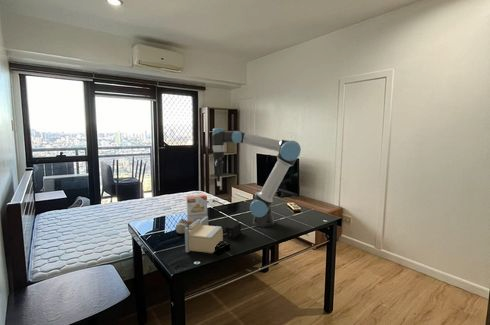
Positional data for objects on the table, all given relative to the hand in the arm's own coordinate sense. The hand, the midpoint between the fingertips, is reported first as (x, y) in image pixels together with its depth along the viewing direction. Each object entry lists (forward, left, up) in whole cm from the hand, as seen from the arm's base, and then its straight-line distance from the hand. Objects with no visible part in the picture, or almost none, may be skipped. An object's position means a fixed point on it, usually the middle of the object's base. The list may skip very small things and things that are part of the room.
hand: (219, 185), depth 175 cm
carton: (-2, +26, -29) cm, 39 cm away
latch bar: (+4, +29, -18) cm, 35 cm away
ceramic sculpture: (+22, +12, -30) cm, 39 cm away
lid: (-2, +30, -21) cm, 37 cm away
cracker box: (+18, -2, -30) cm, 35 cm away
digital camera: (-13, +12, -30) cm, 35 cm away
